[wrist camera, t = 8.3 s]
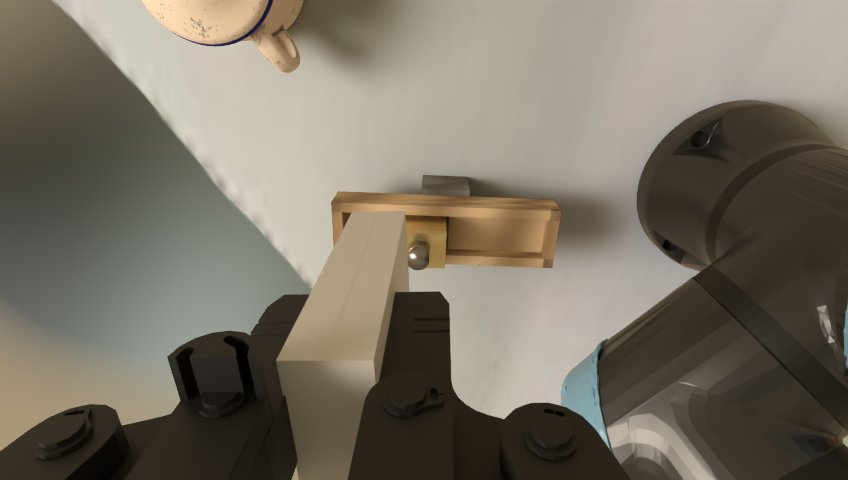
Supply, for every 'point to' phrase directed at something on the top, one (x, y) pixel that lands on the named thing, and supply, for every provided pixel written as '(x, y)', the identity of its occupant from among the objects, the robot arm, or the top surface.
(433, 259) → the rider
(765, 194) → the robot arm
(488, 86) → the top surface
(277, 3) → the teacup with lid
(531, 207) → the beam
